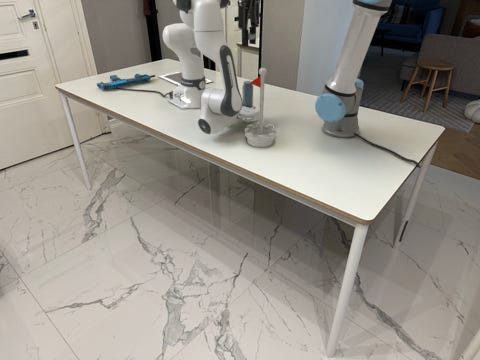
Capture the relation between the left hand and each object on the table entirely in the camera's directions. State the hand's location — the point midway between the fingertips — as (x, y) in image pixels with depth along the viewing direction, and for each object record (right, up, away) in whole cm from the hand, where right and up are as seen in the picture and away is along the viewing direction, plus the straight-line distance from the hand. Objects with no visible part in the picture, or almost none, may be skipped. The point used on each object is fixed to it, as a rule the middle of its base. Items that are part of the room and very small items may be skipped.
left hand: (248, 106), depth 157 cm
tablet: (-39, +29, +58) cm, 75 cm away
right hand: (0, +22, -15) cm, 27 cm away
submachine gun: (-75, +26, +53) cm, 95 cm away
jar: (0, -6, +3) cm, 7 cm away
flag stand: (+4, -18, -15) cm, 24 cm away
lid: (0, +26, -17) cm, 31 cm away
